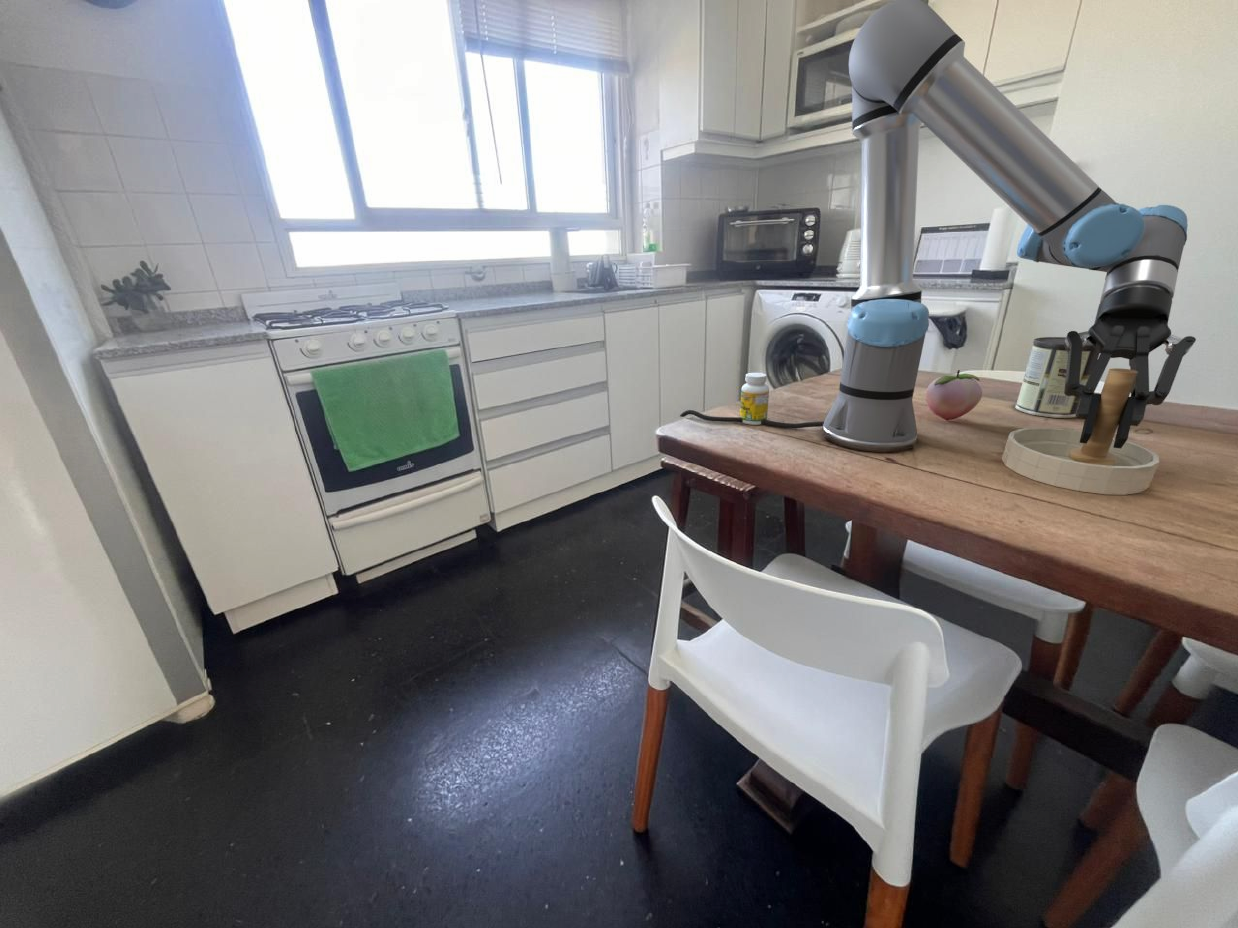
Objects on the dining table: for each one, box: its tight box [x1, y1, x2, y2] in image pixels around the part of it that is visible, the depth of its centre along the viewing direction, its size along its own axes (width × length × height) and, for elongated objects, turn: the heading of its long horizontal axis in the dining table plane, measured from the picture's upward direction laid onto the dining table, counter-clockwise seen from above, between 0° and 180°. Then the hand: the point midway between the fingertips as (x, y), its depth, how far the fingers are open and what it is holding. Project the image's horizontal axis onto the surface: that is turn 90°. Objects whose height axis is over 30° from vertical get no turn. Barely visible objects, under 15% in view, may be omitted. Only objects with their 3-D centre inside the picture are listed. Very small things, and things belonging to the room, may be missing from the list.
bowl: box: [1001, 427, 1160, 496], centre depth 72 cm, size 16×16×4 cm
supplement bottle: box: [739, 372, 770, 426], centre depth 98 cm, size 5×5×10 cm
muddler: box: [1069, 367, 1138, 466], centre depth 68 cm, size 5×5×13 cm
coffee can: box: [1014, 336, 1101, 419], centre depth 98 cm, size 10×10×14 cm
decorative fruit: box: [925, 369, 983, 421], centre depth 95 cm, size 9×8×10 cm
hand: (1102, 440), depth 67 cm, fingers closed on muddler, 3 cm apart
